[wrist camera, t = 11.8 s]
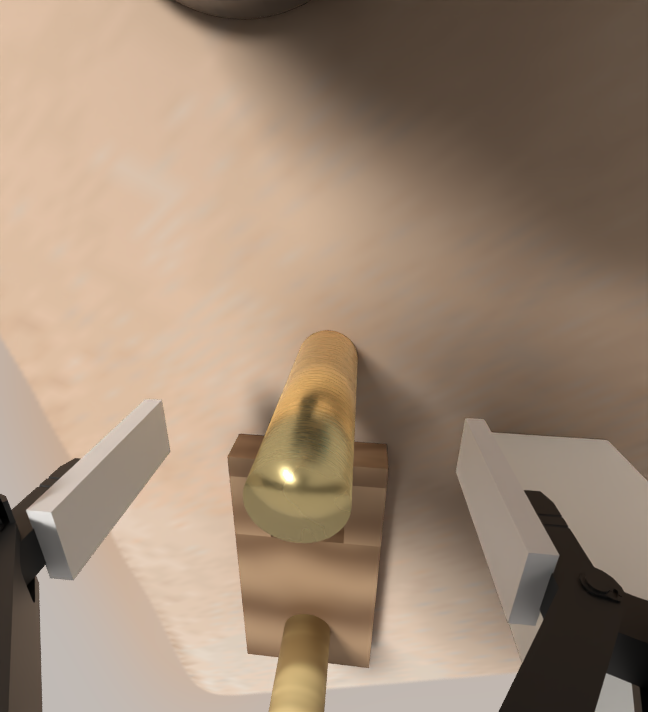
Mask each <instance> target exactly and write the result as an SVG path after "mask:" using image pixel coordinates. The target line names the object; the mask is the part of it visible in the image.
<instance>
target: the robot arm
mask: <svg viewBox="0 0 648 712" xmlns="http://www.w3.org/2000/svg"><path fill="white" fill-rule="evenodd" d="M175 1H177V2H179V3H180V4H182V5H184V6H187V7H189V8H191V9H194V10H196V11H199V12H202V13H206V14H209V15H213V16H218V17H223V18H232V19H253V18H262V17H268V16H272V15H276V14H280V13H283V12H286V11H289V10H291V9H294V8H296V7H298V6H300V5H302V4H305V3H307V2H308V1H310V0H175ZM169 453H170V446H169V440H168V434H167V428H166V422H165V416H164V410H163V403H162V400H155V399H145V400H144V401H143V402H141V403H140V404H139V405H138V406H137V407H136V408H135V409H134V410H133V411H132V412H131V413H130V414H129V415H127V416H126V417H125V418H124V419H123V420H122V421H121V422H120V423H119V424H118V425H117V426H116V427H115V428H114V429H112V430H111V431H110V432H109V433H108V434H107V435H106V436H105V437H104V438H103V439H102V440H101V441H100V442H99V443H97V444H96V445H95V446H94V447H93V448H92V449H91V450H90V451H89V452H88V453H87V454H86V455H85V456H83V457H82V458H81V459H79V458H75V459H73V460H71V461H69V462H68V463H66V464H64V465H62V466H60V467H59V468H58V469H57V470H56V471H55V472H54V473H52V474H51V475H50V476H49V478H48V479H46V480H45V481H44V482H42V483H41V484H40V486H39V487H37V488H36V489H35V490H33V491H32V492H31V493H30V494H29V495H28V496H27V497H26V498H25V499H23V500H22V501H21V502H20V503H19V504H18V505H17V506H16V507H14V508H13V509H12V510H11V508H10V505H9V503H8V500H7V498H6V496H4V495H2V494H0V712H42V682H41V645H40V609H39V582H38V580H37V577H36V575H37V574H38V573H39V571H40V570H41V569H42V568H43V567H44V565H46V567H47V570H48V573H49V576H50V578H54V579H65V580H74V579H75V578H76V576H77V575H78V574H79V572H80V571H81V570H82V568H83V567H84V565H85V564H86V563H87V562H88V560H89V559H90V558H91V556H92V555H93V554H94V552H95V551H96V549H97V548H98V547H99V546H100V544H101V543H102V542H103V540H104V539H105V538H106V536H107V535H108V534H109V532H110V531H111V530H112V528H113V527H114V526H115V524H116V523H117V522H118V520H119V519H120V518H121V516H122V515H123V514H124V513H125V511H126V510H127V509H128V507H129V506H130V505H131V503H132V502H133V501H134V499H135V498H136V497H137V495H138V494H139V493H140V491H141V490H142V489H143V487H144V486H145V485H146V483H147V482H148V481H149V479H150V478H151V477H152V475H153V474H154V473H155V471H156V470H157V469H158V467H159V466H160V465H161V463H162V462H163V461H164V459H165V458H166V457H167V455H168V454H169ZM456 474H457V477H458V480H459V483H460V486H461V488H462V491H463V494H464V497H465V500H466V503H467V506H468V509H469V512H470V515H471V518H472V521H473V523H474V526H475V529H476V532H477V535H478V538H479V541H480V544H481V547H482V550H483V553H484V556H485V558H486V561H487V564H488V567H489V570H490V573H491V576H492V579H493V582H494V585H495V588H496V591H497V593H498V596H499V599H500V602H501V605H502V608H503V611H504V614H505V617H506V620H507V623H511V624H521V625H531V626H536V623H537V620H538V617H539V614H540V612H541V615H542V617H543V619H544V620H543V622H542V624H541V626H540V628H539V630H538V632H537V634H536V636H535V638H534V640H533V642H532V644H531V646H530V648H529V650H528V652H527V654H526V657H525V659H524V661H523V663H522V665H521V667H520V669H519V671H518V673H517V675H516V678H515V679H514V682H513V683H512V685H511V687H510V690H509V691H508V694H507V696H506V698H505V700H504V702H503V704H502V706H501V708H500V710H499V712H595V709H596V706H597V703H598V699H599V696H600V693H601V689H602V686H603V682H604V679H605V676H606V673H607V674H609V675H612V676H614V677H617V678H619V679H621V680H624V681H626V682H629V683H631V684H632V692H633V702H634V711H635V712H648V601H647V600H645V599H642V598H639V597H636V596H633V595H631V594H628V593H626V592H624V591H623V589H622V587H621V586H620V585H619V584H618V583H617V582H616V581H615V579H614V578H612V577H611V576H610V575H608V574H607V573H605V572H604V571H602V570H600V569H598V568H595V567H594V566H593V564H592V563H591V561H590V560H589V558H588V556H587V555H586V553H585V552H584V550H583V549H582V547H581V545H580V544H579V542H578V541H577V539H576V537H575V536H574V534H573V533H572V531H571V529H570V528H568V525H567V523H566V521H565V520H564V518H562V515H561V514H560V512H559V510H558V509H557V507H556V506H555V504H554V502H552V501H551V500H550V499H549V498H548V497H547V496H545V495H544V494H543V493H542V492H541V491H532V490H523V488H522V487H521V485H520V483H519V481H518V479H517V478H516V476H515V474H514V472H513V470H512V468H511V467H510V465H509V463H508V461H507V459H506V458H505V456H504V454H503V452H502V450H501V449H500V447H499V445H498V443H497V441H496V439H495V438H494V436H493V434H492V432H491V430H490V429H489V427H488V425H487V423H486V421H485V420H484V419H475V418H465V423H464V428H463V434H462V439H461V445H460V450H459V456H458V462H457V467H456Z"/></svg>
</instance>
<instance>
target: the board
mask: <svg viewBox="0 0 648 712" xmlns="http://www.w3.org/2000/svg"><path fill="white" fill-rule="evenodd" d="M263 438H264V436H260V435H246V434H239V436H238V438H237V440H236V441H235V443H234V445H233V447H232V449H231V451H230V453H229V455H228V467H229V477H230V486H231V496H232V506H233V515H234V525H235V535H236V545H237V554H238V564H239V574H240V583H241V593H242V603H243V612H244V622H245V632H246V642H247V651H248V654H255V655H264V656H272V657H279V658H278V664H277V669H276V674H275V680H274V685H273V691H272V696H271V702H270V707H269V712H324V707H325V694H326V682H327V669H328V663H332V664H340V665H349V666H357V667H366V668H369V661H370V651H371V640H372V630H373V620H374V610H375V600H376V590H377V580H378V570H379V560H380V550H381V540H382V530H383V520H384V510H385V500H386V490H387V479H388V457H387V445H386V444H376V443H361V442H354V458H353V482H352V506H351V513H350V517H349V519H348V521H347V523H346V524H345V526H344V527H343V528H342V529H341V530H340V531H339V532H338V533H336V534H335V535H333V536H331V537H330V538H327V539H325V540H322V541H318V542H312V543H295V542H289V541H284V540H281V539H278V538H276V537H274V536H272V535H270V534H268V533H266V532H265V531H263V530H262V529H261V528H259V527H258V526H257V525H256V524H255V523H254V522H253V520H252V519H251V518H250V516H249V515H248V513H247V511H246V509H245V506H244V502H243V489H244V485H245V482H246V480H247V478H248V475H249V473H250V470H251V468H252V465H253V463H254V460H255V458H256V456H257V453H258V451H259V448H260V446H261V443H262V441H263Z"/></svg>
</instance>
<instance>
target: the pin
mask: <svg viewBox="0 0 648 712" xmlns="http://www.w3.org/2000/svg"><path fill="white" fill-rule="evenodd" d="M357 362H358V356H357V351H356V348H355V346H354V345H353V343H352V342H351V341H350V340H349V339H348V338H347V337H346V336H344V335H343V334H341V333H338V332H335V331H329V330H325V331H319V332H316V333H314V334H312V335H310V336H309V337H308V338H307V339H306V340H305V341H304V342H303V344H302V346H301V348H300V350H299V353H298V355H297V358H296V360H295V363H294V365H293V367H292V370H291V372H290V375H289V377H288V380H287V382H286V385H285V387H284V390H283V392H282V394H281V397H280V399H279V402H278V404H277V407H276V409H275V412H274V414H273V416H272V419H271V421H270V424H269V426H268V429H267V431H266V434H265V436H264V438H263V441H262V443H261V446H260V448H259V451H258V453H257V456H256V458H255V460H254V463H253V465H252V468H251V470H250V473H249V475H248V478H247V480H246V482H245V485H244V489H243V502H244V506H245V509H246V511H247V513H248V515H249V516H250V518H251V519H252V520H253V522H254V523H255V524H256V525H257V526H258V527H259V528H261V529H262V530H263V531H265V532H266V533H268V534H270V535H272V536H274V537H276V538H278V539H281V540H284V541H289V542H295V543H312V542H318V541H322V540H325V539H327V538H330V537H331V536H333V535H335V534H336V533H338V532H339V531H340V530H341V529H342V528H343V527H344V526H345V524H346V523H347V521H348V519H349V517H350V513H351V506H352V482H353V458H354V434H355V410H356V386H357Z"/></svg>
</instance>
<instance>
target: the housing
mask: <svg viewBox="0 0 648 712" xmlns="http://www.w3.org/2000/svg"><path fill="white" fill-rule="evenodd" d="M492 434H493V436H494V438H495V439H496V441H497V443H498V445H499V447H500V449H501V450H502V452H503V454H504V456H505V458H506V459H507V461H508V463H509V465H510V467H511V468H512V470H513V472H514V474H515V476H516V478H517V479H518V481H519V483H520V485H521V487H522V488H523V490H532V491H541V492H542V493H543V494H544V495H545V496H547V497H548V498H549V499H550V500H551V501H552V502H554V504H555V506H556V507H557V509H558V510H559V512H560V514H561V515H562V518H564V520H565V521H566V523H567V525H568V528H570V529H571V531H572V533H573V534H574V536H575V537H576V539H577V541H578V542H579V544H580V545H581V547H582V549H583V550H584V552H585V553H586V555H587V556H588V558H589V560H590V561H591V563H592V564H593V566H594V567H595V568H598V569H600V570H602V571H604V572H605V573H607V574H608V575H610V576H611V577H612V578H614V579H615V581H616V582H617V583H618V584H619V585H620V586H621V587H622V589H623V591H624V592H626V593H628V594H631V595H633V596H636V597H639V598H642V599H645V600H647V601H648V481H647V480H646V479H645V478H644V477H643V476H642V475H641V474H640V473H639V472H638V471H637V470H636V469H635V468H634V467H633V466H632V465H631V464H630V463H629V462H628V461H627V459H626V458H625V457H624V456H623V455H622V454H621V453H620V452H619V451H618V450H617V449H616V448H615V447H614V446H613V445H612V444H611V443H610V442H609V441H608V440H600V439H585V438H570V437H554V436H539V435H524V434H508V433H493V432H492ZM543 620H544V619H543V617H542V615H541V612H540V614H539V617H538V620H537V623H536V626H531V625H521V624H511V623H509V626H510V629H511V632H512V635H513V638H514V641H515V644H516V647H517V650H518V653H519V656H520V659H521V662H522V663H523V661H524V659H525V657H526V654H527V652H528V650H529V648H530V646H531V644H532V642H533V640H534V638H535V636H536V634H537V632H538V630H539V628H540V626H541V624H542V622H543ZM595 712H635V711H634V702H633V692H632V684H631V683H629V682H626V681H624V680H621V679H619V678H617V677H614V676H612V675H609V674H607V673H606V676H605V679H604V682H603V686H602V689H601V693H600V696H599V699H598V703H597V706H596V709H595Z"/></svg>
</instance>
